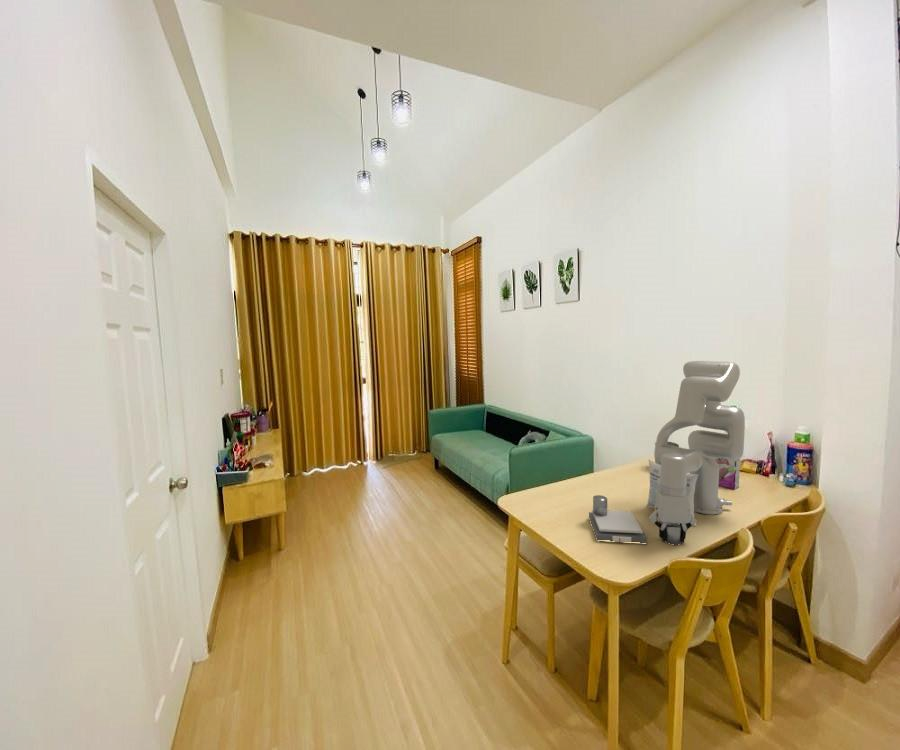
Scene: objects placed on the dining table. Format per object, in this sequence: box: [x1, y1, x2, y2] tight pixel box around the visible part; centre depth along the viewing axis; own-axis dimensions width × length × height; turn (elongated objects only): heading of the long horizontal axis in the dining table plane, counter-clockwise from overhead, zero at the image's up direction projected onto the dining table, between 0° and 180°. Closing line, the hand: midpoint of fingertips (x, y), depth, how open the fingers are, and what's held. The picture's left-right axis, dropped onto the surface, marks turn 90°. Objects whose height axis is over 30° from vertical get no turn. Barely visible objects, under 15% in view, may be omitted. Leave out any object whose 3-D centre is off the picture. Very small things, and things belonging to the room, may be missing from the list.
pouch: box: [646, 459, 698, 528], centre depth 142 cm, size 8×19×20 cm, turn 24°
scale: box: [588, 509, 648, 544], centre depth 134 cm, size 16×17×4 cm
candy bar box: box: [714, 457, 741, 491], centre depth 166 cm, size 11×5×16 cm, turn 34°
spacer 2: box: [665, 523, 682, 546], centre depth 126 cm, size 5×5×6 cm
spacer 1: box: [592, 494, 608, 517], centre depth 139 cm, size 5×5×6 cm
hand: (672, 539), depth 126 cm, fingers closed on spacer 2, 5 cm apart
